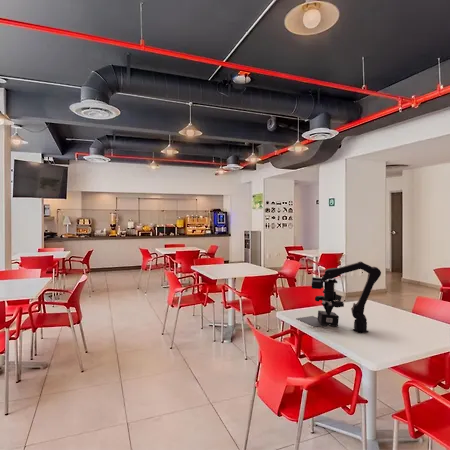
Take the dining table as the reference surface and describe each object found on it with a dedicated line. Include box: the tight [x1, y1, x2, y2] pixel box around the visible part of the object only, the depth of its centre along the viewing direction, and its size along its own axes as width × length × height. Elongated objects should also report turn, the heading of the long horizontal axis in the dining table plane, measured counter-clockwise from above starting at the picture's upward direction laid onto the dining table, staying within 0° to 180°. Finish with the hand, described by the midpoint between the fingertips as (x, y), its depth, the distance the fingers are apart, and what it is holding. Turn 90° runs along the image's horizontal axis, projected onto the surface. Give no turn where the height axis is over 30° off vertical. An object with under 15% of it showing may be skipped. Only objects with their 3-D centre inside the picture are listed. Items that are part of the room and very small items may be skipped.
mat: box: [295, 315, 327, 328], centre depth 210 cm, size 18×14×1 cm
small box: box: [317, 310, 340, 327], centre depth 205 cm, size 11×6×10 cm
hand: (328, 315), depth 199 cm, fingers closed
